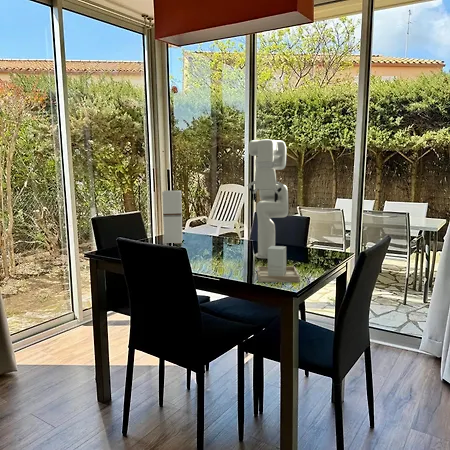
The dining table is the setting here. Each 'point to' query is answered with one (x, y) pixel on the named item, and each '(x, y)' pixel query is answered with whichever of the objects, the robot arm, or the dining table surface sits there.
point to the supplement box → (277, 260)
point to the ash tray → (288, 277)
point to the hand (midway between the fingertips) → (265, 201)
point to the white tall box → (172, 217)
